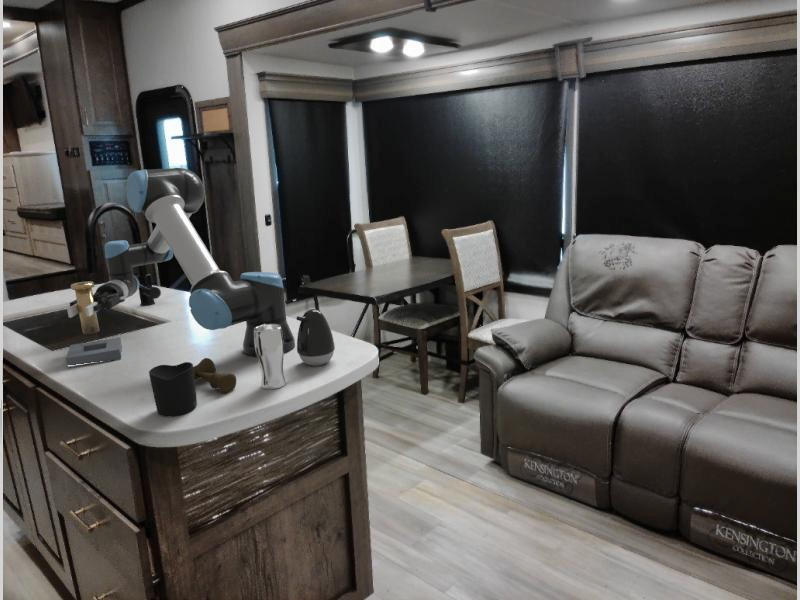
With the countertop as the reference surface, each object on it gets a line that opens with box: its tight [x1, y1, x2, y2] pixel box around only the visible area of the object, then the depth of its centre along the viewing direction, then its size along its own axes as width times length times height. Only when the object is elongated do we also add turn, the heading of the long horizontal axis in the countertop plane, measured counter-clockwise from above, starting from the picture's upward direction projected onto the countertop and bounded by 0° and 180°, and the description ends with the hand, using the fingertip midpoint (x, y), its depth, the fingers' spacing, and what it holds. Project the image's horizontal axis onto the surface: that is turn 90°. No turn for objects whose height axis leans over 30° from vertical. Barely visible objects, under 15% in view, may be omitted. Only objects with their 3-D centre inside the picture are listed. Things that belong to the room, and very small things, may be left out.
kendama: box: [193, 357, 237, 394], centre depth 149 cm, size 6×10×20 cm
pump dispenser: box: [296, 308, 336, 367], centre depth 160 cm, size 10×10×15 cm
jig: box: [65, 336, 123, 366], centre depth 177 cm, size 14×14×3 cm
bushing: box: [70, 280, 100, 335], centre depth 174 cm, size 6×6×15 cm
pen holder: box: [148, 361, 198, 417], centre depth 135 cm, size 9×9×10 cm
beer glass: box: [254, 324, 287, 390], centre depth 146 cm, size 7×7×15 cm
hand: (78, 312), depth 169 cm, fingers closed on bushing, 4 cm apart
